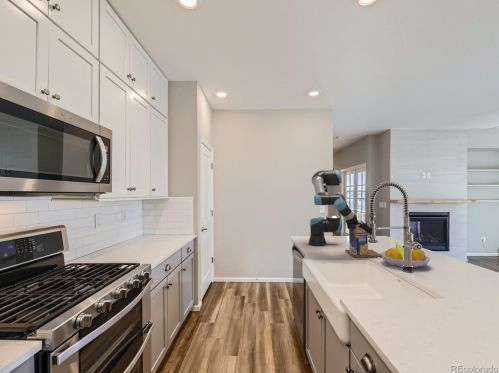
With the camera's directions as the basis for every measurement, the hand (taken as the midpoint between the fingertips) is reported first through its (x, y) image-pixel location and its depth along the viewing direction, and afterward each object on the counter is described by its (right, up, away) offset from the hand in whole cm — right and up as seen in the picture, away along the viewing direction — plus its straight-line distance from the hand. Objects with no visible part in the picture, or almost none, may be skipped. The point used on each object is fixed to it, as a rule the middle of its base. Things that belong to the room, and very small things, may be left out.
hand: (364, 235), depth 193 cm
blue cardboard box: (-6, -12, -3) cm, 14 cm away
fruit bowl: (+13, -13, -28) cm, 34 cm away
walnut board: (-2, -13, -1) cm, 14 cm away
